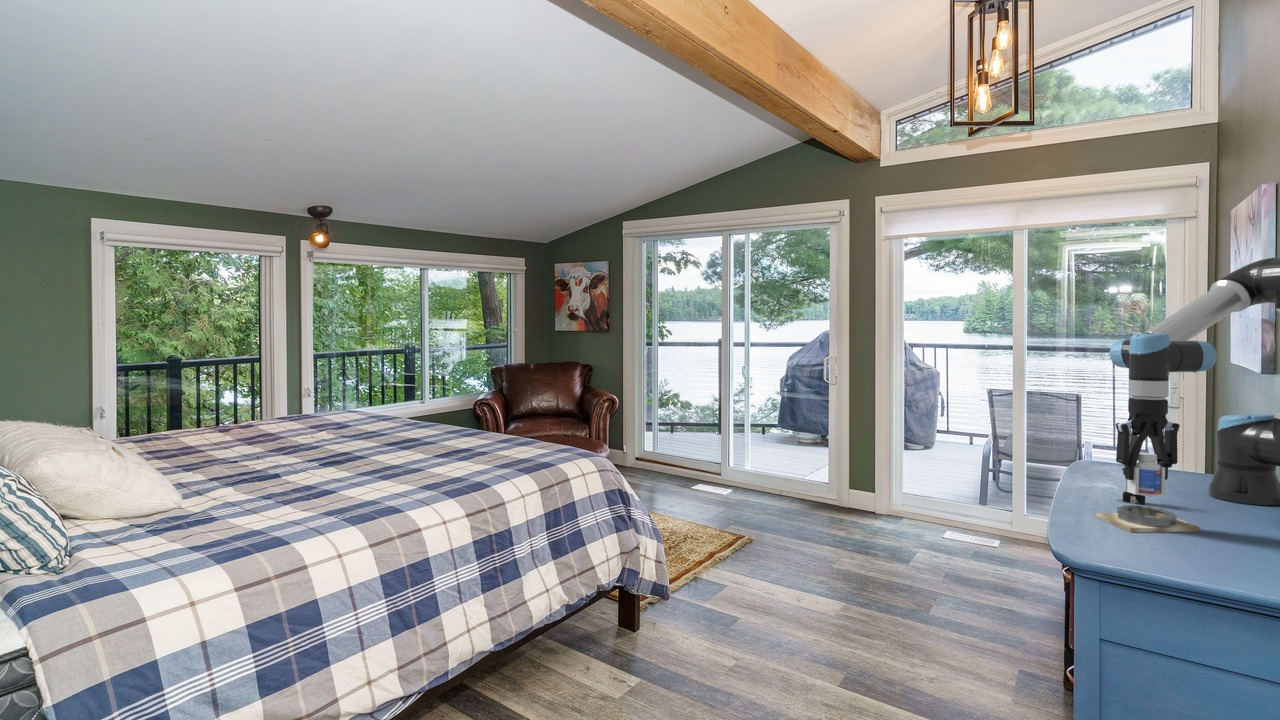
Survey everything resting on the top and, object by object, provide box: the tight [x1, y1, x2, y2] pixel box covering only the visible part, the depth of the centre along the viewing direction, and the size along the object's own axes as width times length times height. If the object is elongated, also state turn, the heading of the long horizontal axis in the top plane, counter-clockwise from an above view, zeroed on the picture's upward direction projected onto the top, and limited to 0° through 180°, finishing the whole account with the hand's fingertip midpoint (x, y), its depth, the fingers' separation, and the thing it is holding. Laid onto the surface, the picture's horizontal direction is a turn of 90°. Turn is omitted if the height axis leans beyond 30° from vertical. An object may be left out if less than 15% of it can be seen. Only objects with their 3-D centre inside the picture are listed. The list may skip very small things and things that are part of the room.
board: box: [1095, 512, 1201, 533], centre depth 156 cm, size 16×12×1 cm
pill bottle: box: [1135, 452, 1161, 497], centre depth 156 cm, size 6×5×10 cm
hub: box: [1116, 504, 1178, 527], centre depth 156 cm, size 11×11×3 cm
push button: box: [1115, 467, 1146, 506], centre depth 175 cm, size 7×5×10 cm
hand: (1145, 492), depth 156 cm, fingers closed on pill bottle, 5 cm apart
